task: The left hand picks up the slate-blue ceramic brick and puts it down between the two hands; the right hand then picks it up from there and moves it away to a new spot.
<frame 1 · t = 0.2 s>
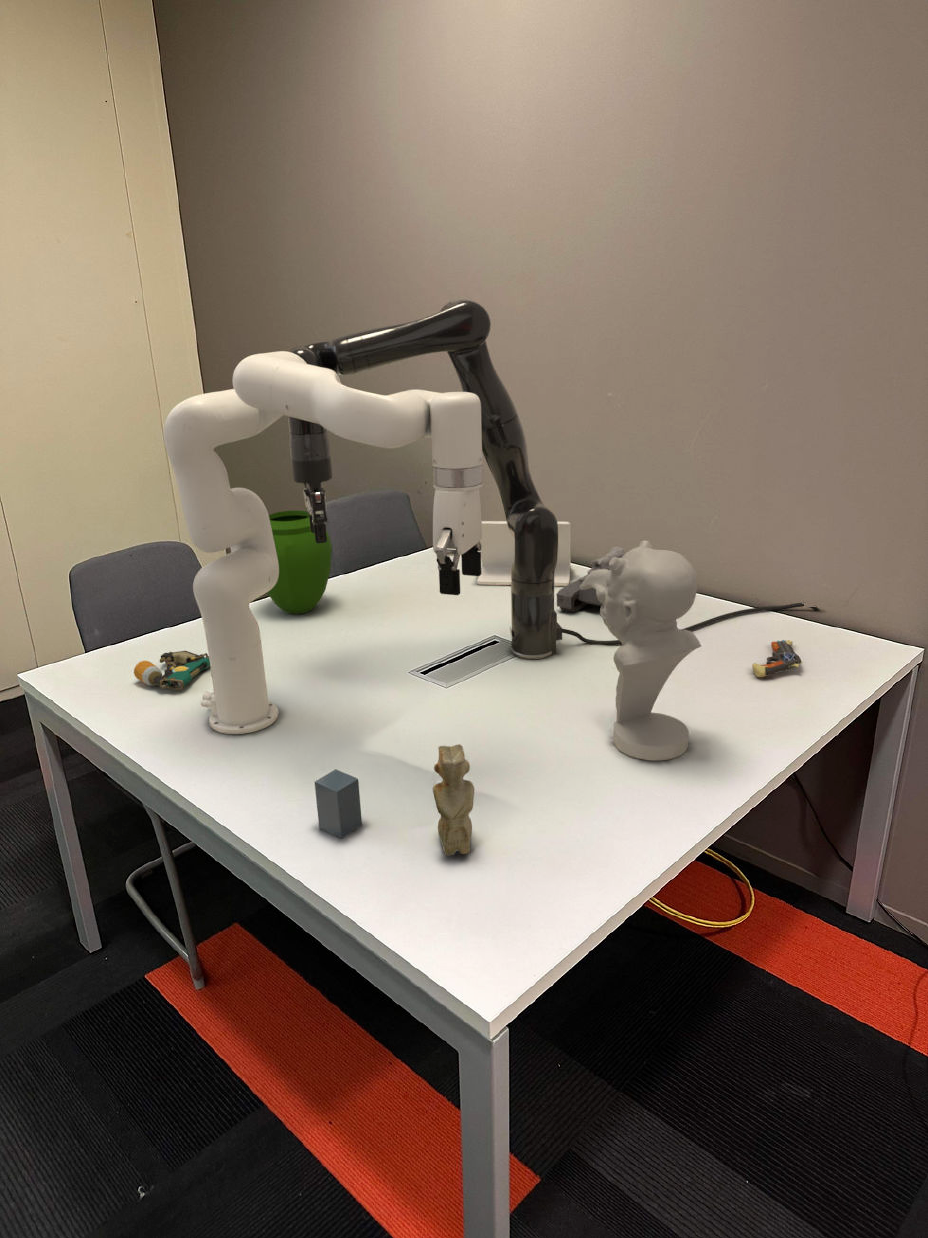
left hand: (461, 584, 135), 31 cm above the table, tool pointing down, fingers open, 9 cm apart
right hand: (318, 537, 170), 30 cm above the table, tool pointing down, fingers open, 8 cm apart
toy: (615, 605, 214), on the table
sculpture: (455, 846, 122), on the table
spray gun: (177, 676, 181), on the table
vase: (298, 609, 218), on the table
tablet stand: (525, 575, 239), on the table
brick: (340, 826, 127), on the table
bust sculpture: (630, 737, 150), on the table
toy gun: (773, 662, 179), on the table
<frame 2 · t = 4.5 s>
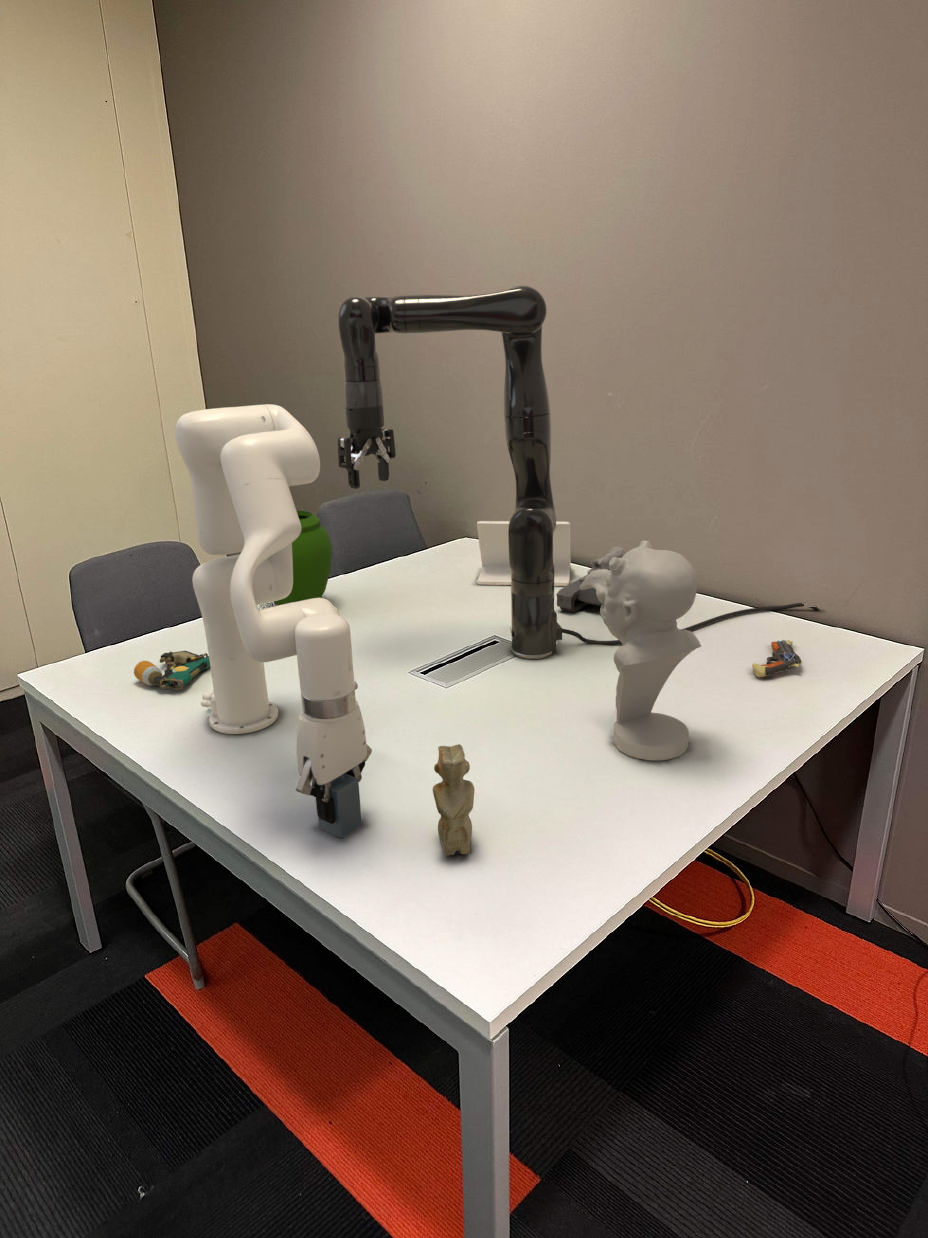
left hand: (339, 810, 127), 3 cm above the table, tool pointing down, fingers closed on brick, 4 cm apart
right hand: (369, 484, 176), 38 cm above the table, tool pointing down, fingers open, 8 cm apart
brick: (340, 826, 127), on the table, touching left hand
everything else where it was.
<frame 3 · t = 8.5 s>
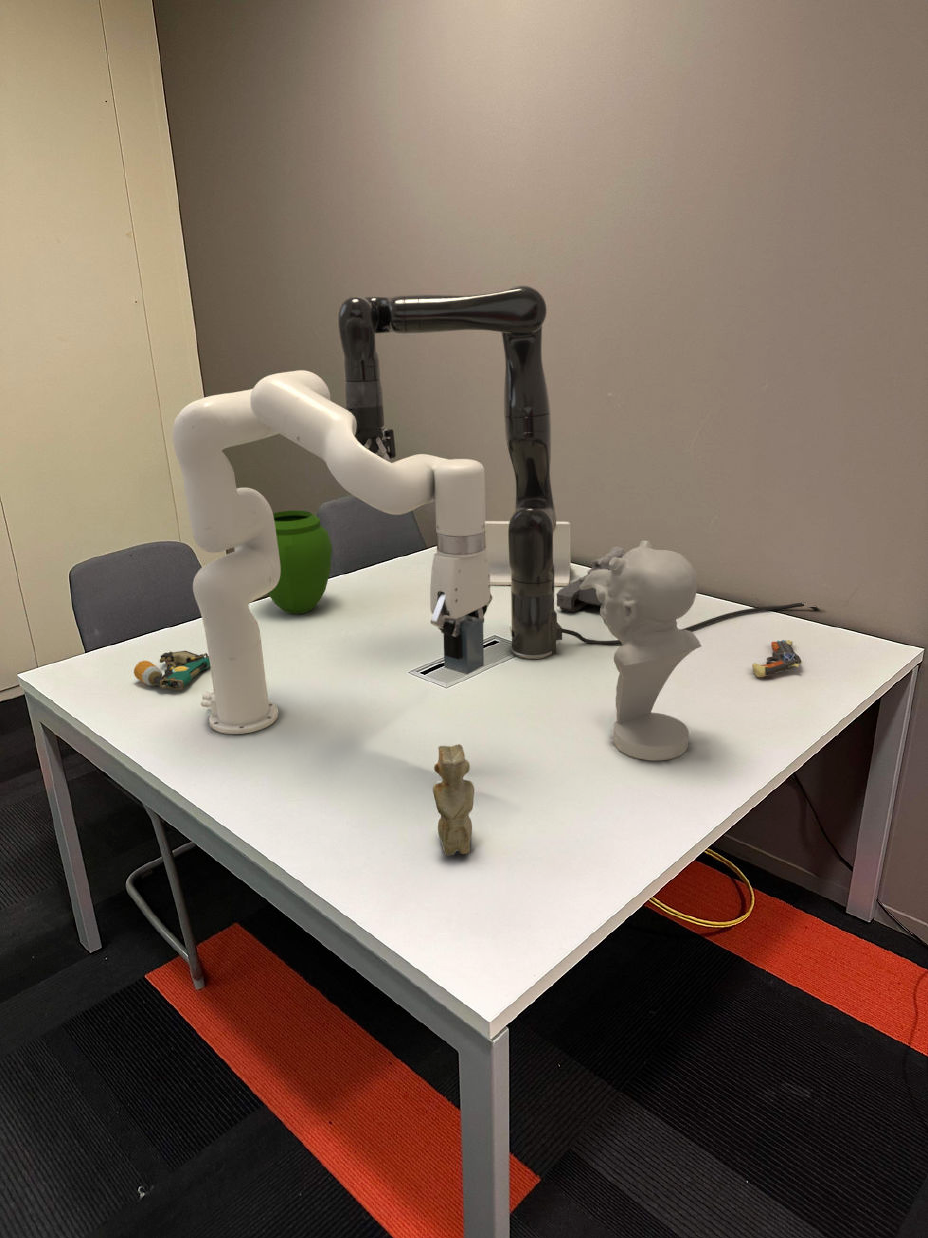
left hand: (463, 650, 137), 20 cm above the table, tool pointing down, fingers closed on brick, 4 cm apart
right hand: (369, 484, 176), 38 cm above the table, tool pointing down, fingers open, 8 cm apart
brick: (464, 666, 138), point 18 cm above the table, touching left hand
everything else where it was.
when the left hand's fingers open (4 cm above the table, at t = 12.5 s): brick drops 1 cm, on the table.
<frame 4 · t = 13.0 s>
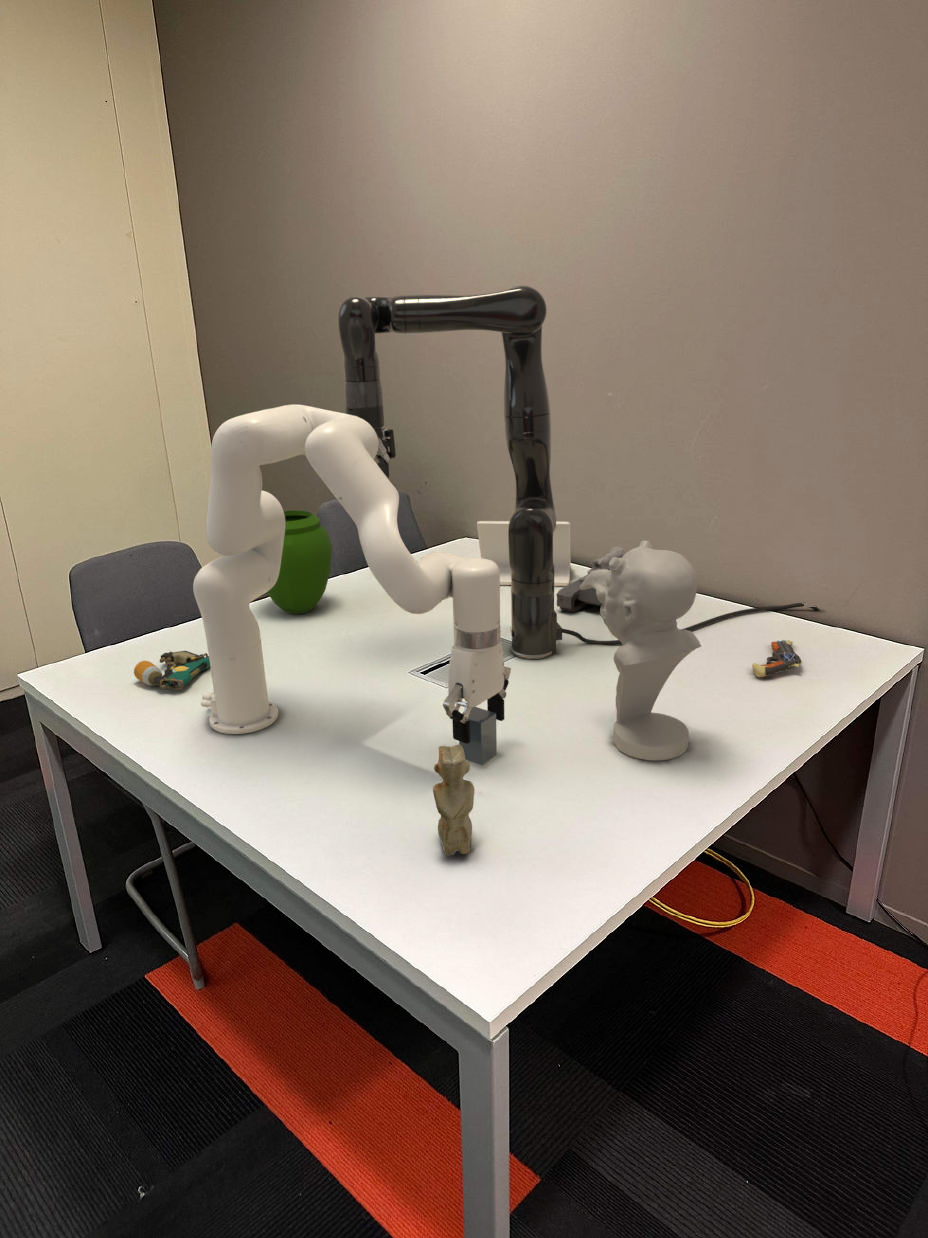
left hand: (479, 729, 144), 5 cm above the table, tool pointing down, fingers open, 9 cm apart
right hand: (369, 484, 176), 38 cm above the table, tool pointing down, fingers open, 8 cm apart
brick: (478, 756, 146), on the table
everything else where it was.
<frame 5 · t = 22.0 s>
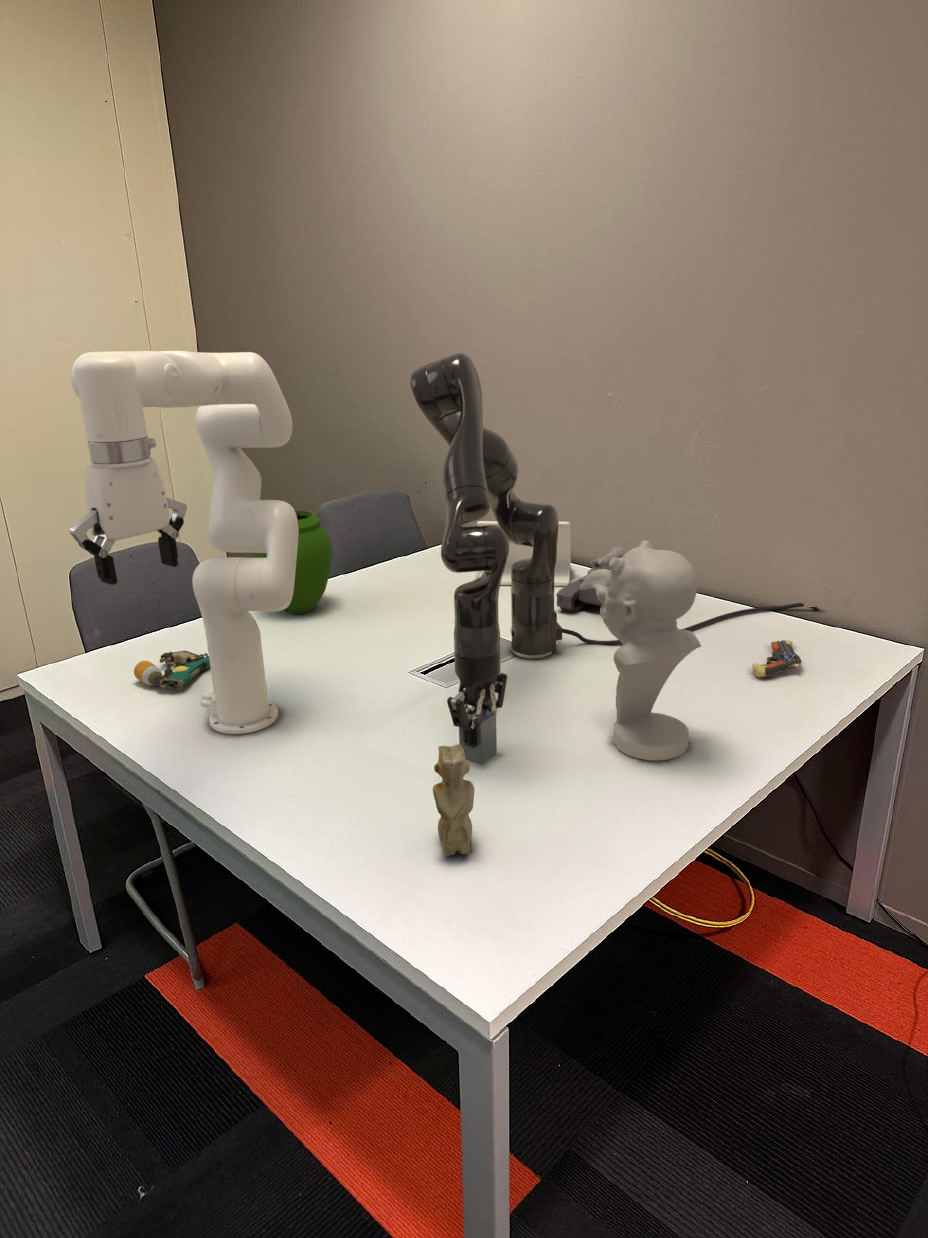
left hand: (140, 573, 121), 38 cm above the table, tool pointing down, fingers open, 9 cm apart
right hand: (479, 739, 144), 3 cm above the table, tool pointing down, fingers closed on brick, 4 cm apart
brick: (478, 756, 146), on the table, touching right hand
everything else where it was.
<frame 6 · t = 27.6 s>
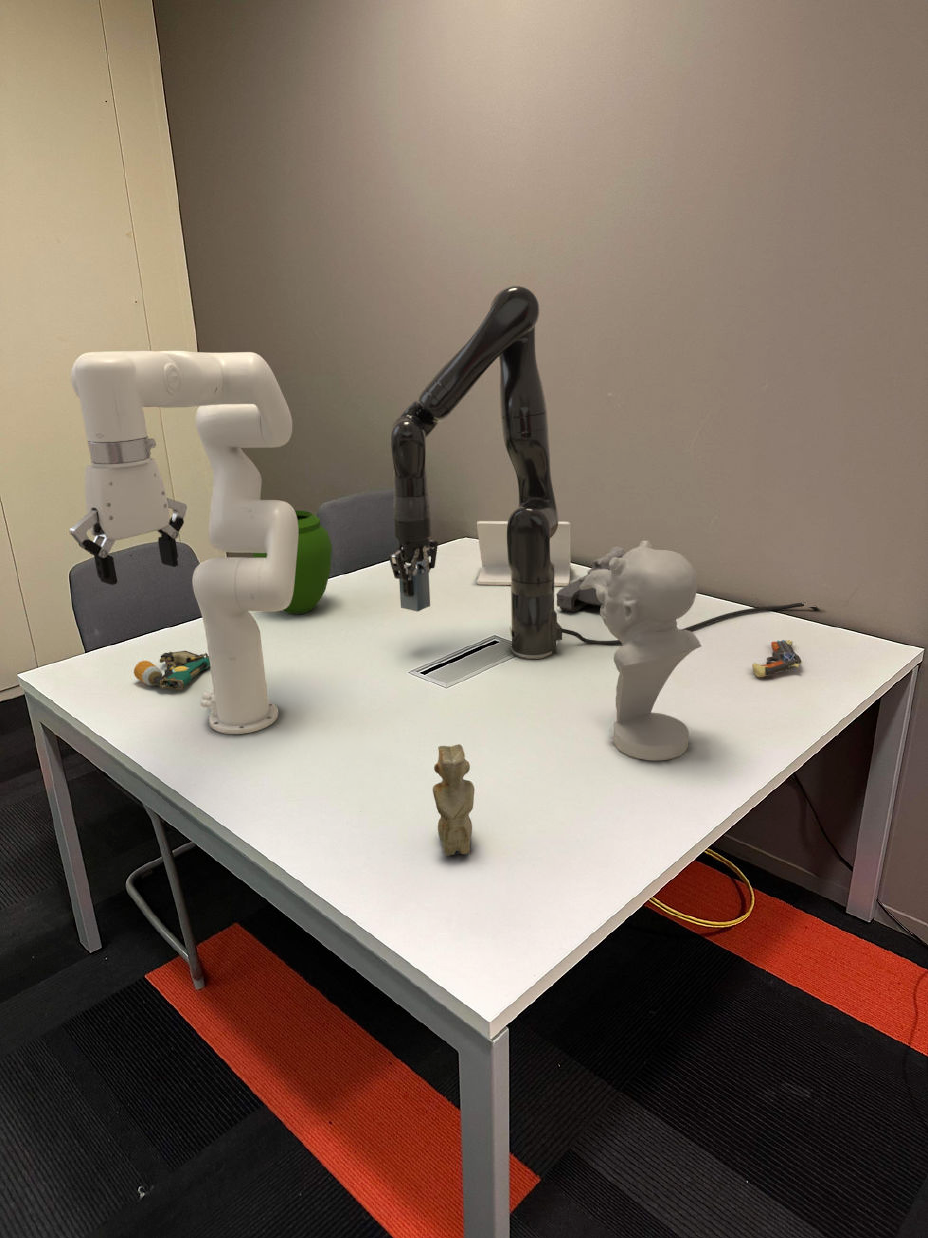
left hand: (140, 573, 121), 38 cm above the table, tool pointing down, fingers open, 9 cm apart
right hand: (416, 592, 183), 14 cm above the table, tool pointing down, fingers closed on brick, 4 cm apart
brick: (415, 606, 185), point 11 cm above the table, touching right hand
everything else where it was.
when the right hand's fingers open (4 cm above the table, at t = 33.4 s): brick drops 1 cm, on the table.
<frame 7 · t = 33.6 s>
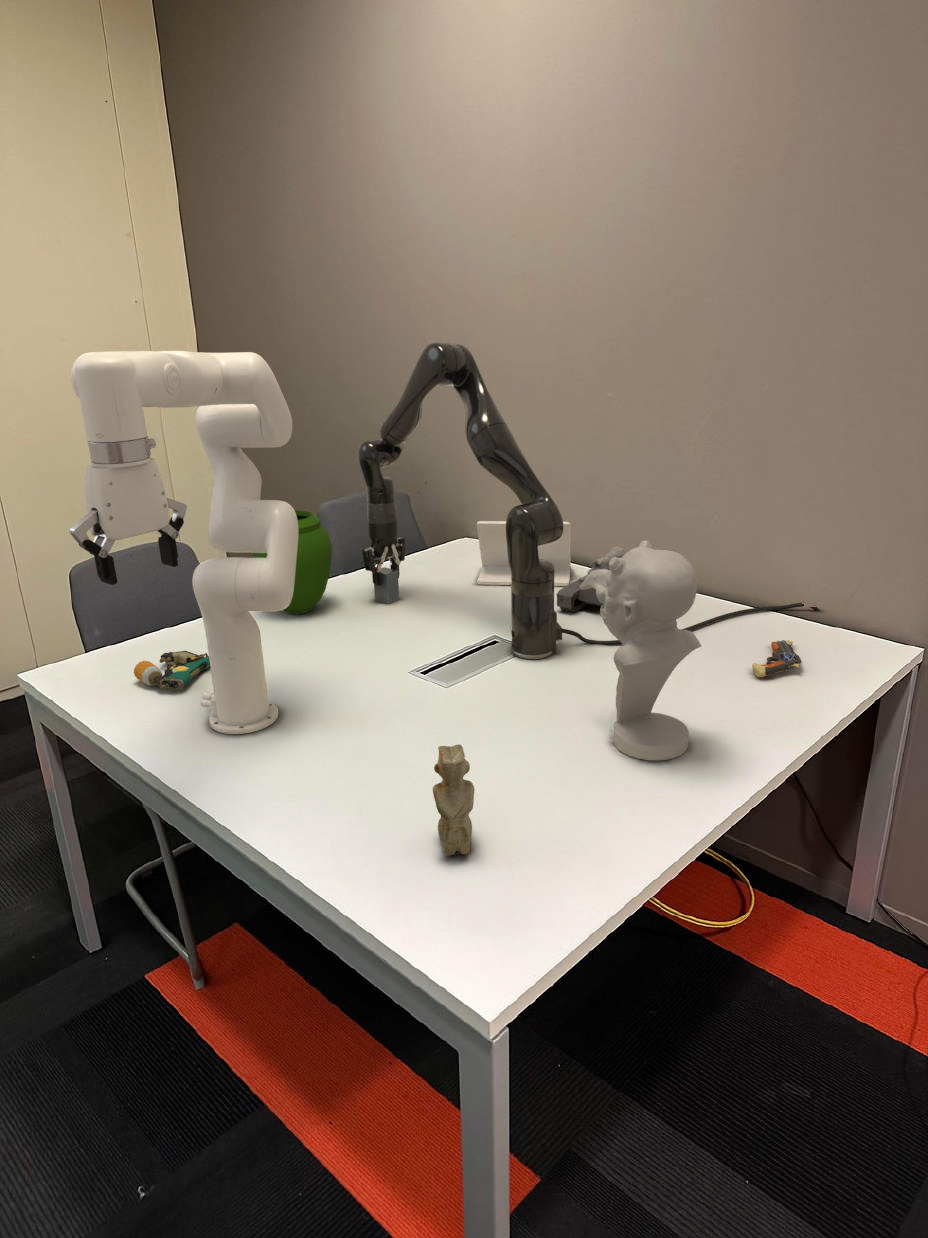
left hand: (140, 573, 121), 38 cm above the table, tool pointing down, fingers open, 9 cm apart
right hand: (386, 581, 221), 5 cm above the table, tool pointing down, fingers open, 6 cm apart
brick: (387, 599, 223), on the table
everything else where it was.
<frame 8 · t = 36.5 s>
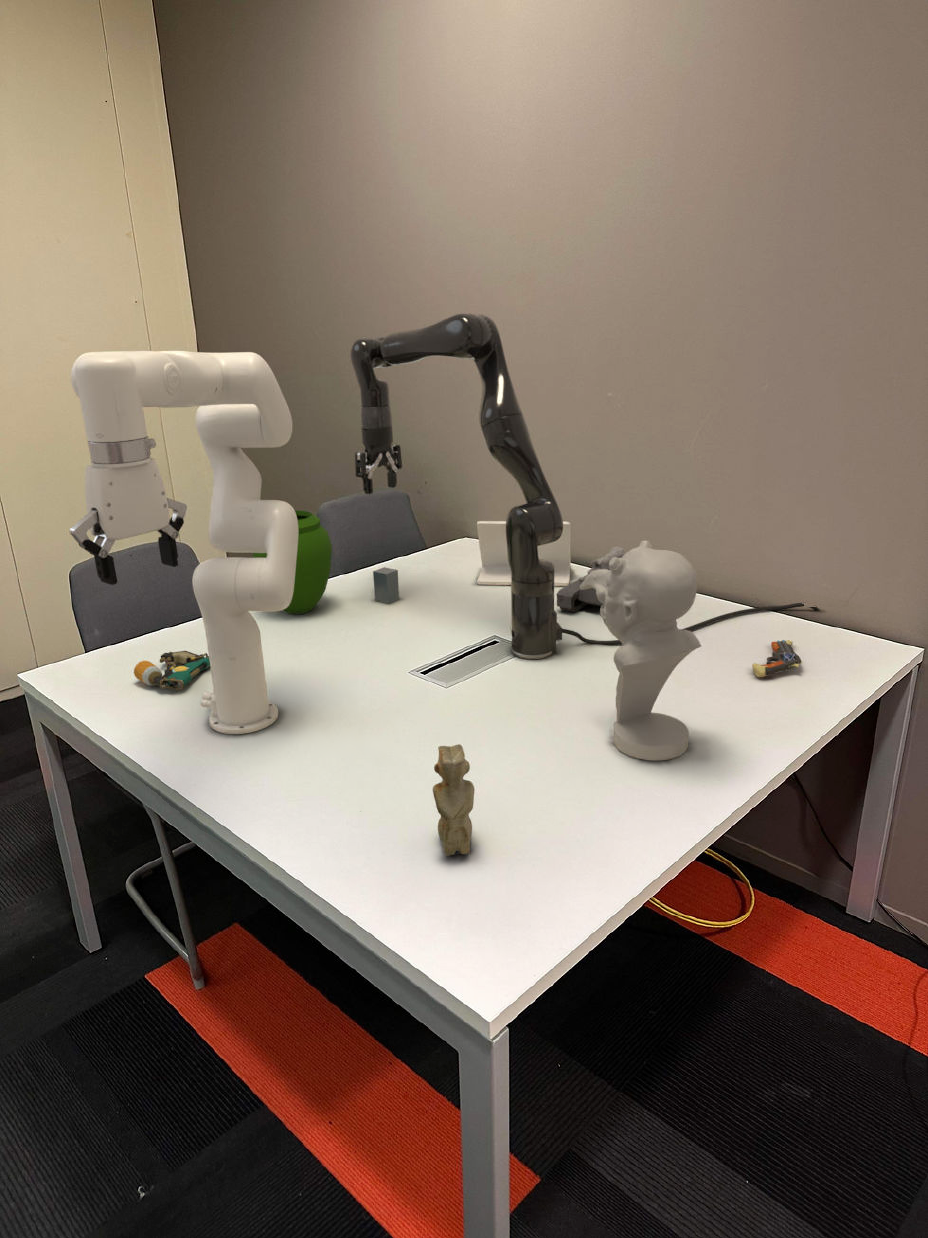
left hand: (140, 573, 121), 38 cm above the table, tool pointing down, fingers open, 9 cm apart
right hand: (380, 490, 213), 29 cm above the table, tool pointing down, fingers open, 8 cm apart
nothing on the table moved.
at the end: brick inside the target area (0.1 cm from its centre), on the table; brick tilted 0°; the two hands never held the brick at the same time; the left hand is holding nothing; the right hand is holding nothing; brick at rest at the end (0.0 cm/s) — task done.
